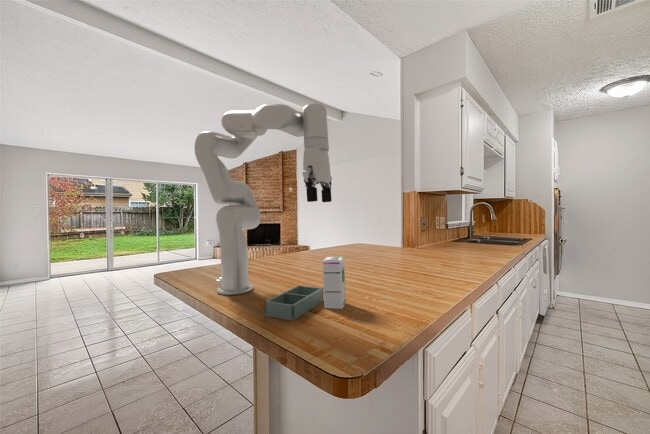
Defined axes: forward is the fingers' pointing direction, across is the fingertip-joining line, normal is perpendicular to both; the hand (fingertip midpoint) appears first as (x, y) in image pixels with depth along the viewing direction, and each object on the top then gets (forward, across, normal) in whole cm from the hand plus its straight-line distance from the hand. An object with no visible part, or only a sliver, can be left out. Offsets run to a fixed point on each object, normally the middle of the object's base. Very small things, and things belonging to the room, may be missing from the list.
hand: (319, 201), depth 86 cm
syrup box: (+32, 0, +3) cm, 32 cm away
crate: (+32, +6, -7) cm, 33 cm away
